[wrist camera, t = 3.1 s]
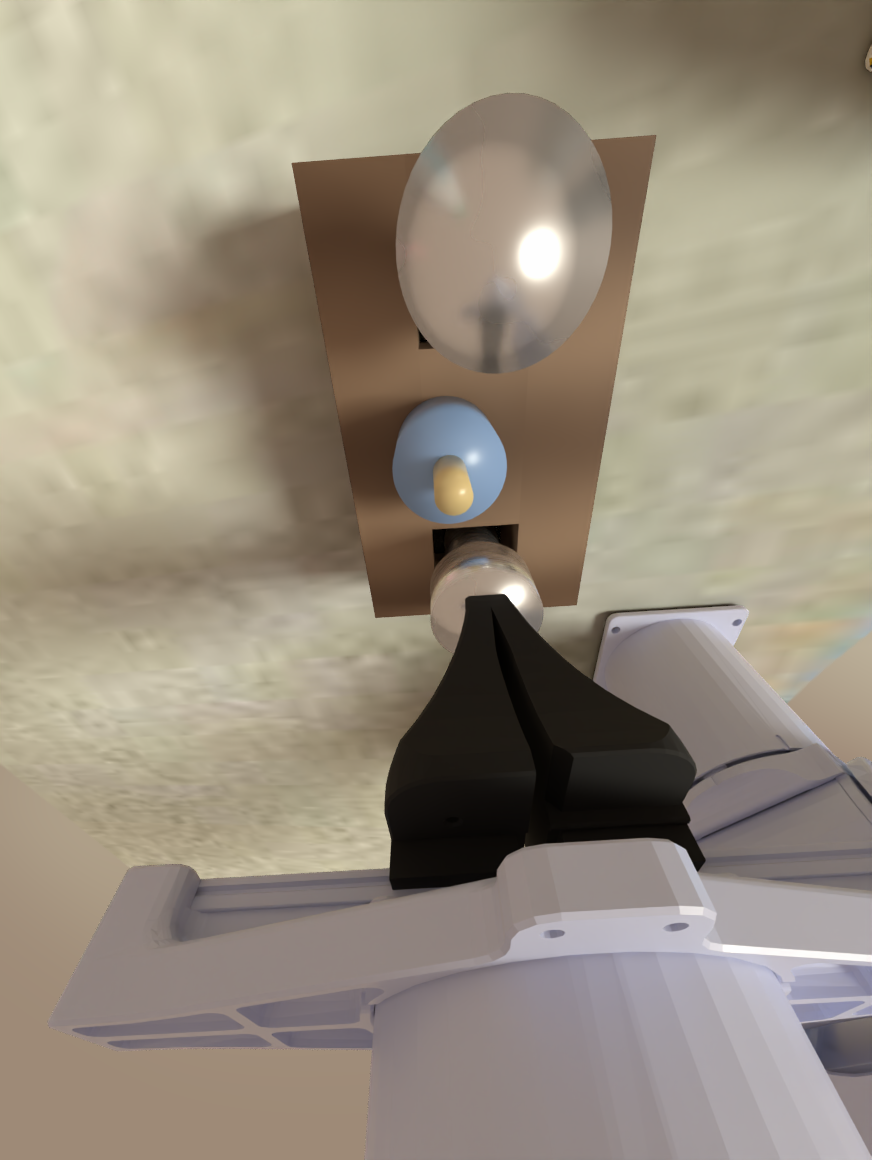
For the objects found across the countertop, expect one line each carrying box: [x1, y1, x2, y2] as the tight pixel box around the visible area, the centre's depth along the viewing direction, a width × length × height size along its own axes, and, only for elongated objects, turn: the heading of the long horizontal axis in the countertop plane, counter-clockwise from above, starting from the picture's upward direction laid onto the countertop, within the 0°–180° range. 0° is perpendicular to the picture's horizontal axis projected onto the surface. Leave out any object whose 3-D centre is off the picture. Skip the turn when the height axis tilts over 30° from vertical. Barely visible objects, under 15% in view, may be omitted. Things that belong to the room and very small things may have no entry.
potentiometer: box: [392, 396, 507, 524], centre depth 12 cm, size 3×3×4 cm
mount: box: [292, 135, 656, 618], centre depth 16 cm, size 14×9×4 cm, turn 3°
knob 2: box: [430, 525, 543, 654], centre depth 16 cm, size 4×4×6 cm
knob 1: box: [396, 93, 612, 374], centre depth 10 cm, size 4×4×6 cm
